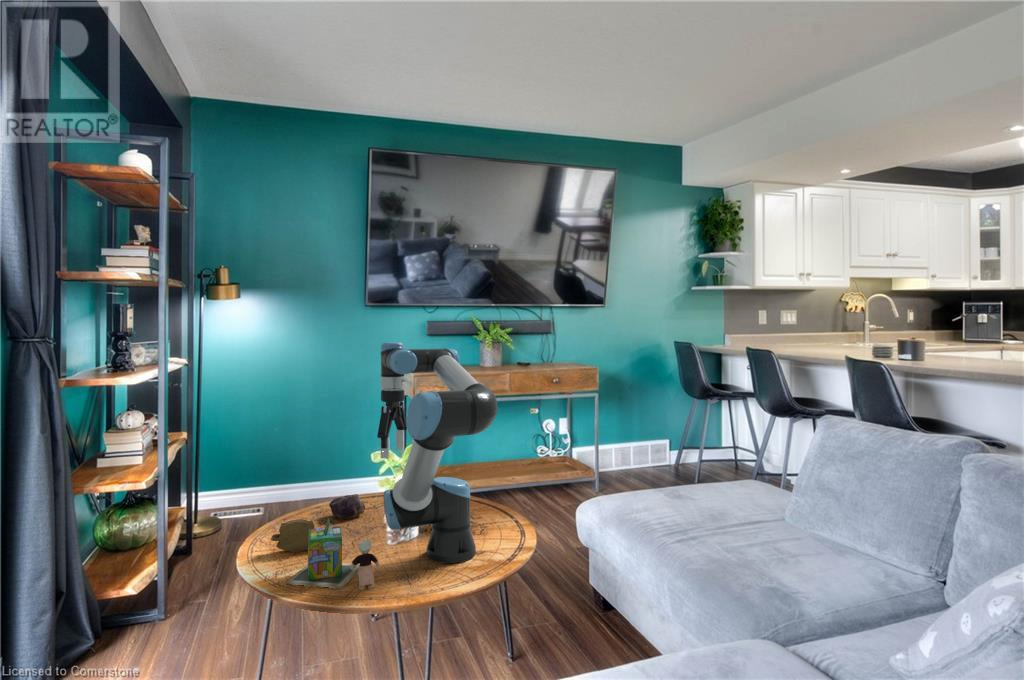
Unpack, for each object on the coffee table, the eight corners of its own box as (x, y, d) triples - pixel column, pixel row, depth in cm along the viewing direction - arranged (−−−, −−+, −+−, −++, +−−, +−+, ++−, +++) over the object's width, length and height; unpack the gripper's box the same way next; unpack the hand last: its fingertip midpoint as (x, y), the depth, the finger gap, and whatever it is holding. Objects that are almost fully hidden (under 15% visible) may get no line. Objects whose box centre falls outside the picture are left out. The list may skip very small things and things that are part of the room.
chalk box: (307, 568, 165) (307, 517, 165) (341, 564, 168) (340, 513, 168) (307, 581, 157) (307, 527, 156) (342, 577, 160) (342, 524, 159)
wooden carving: (326, 544, 186) (326, 514, 185) (326, 550, 181) (326, 518, 181) (271, 551, 180) (271, 519, 180) (270, 556, 176) (269, 524, 176)
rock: (337, 516, 217) (327, 525, 207) (334, 494, 217) (323, 501, 207) (367, 512, 216) (358, 520, 206) (364, 490, 216) (355, 497, 206)
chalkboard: (362, 567, 168) (362, 564, 168) (341, 588, 154) (341, 585, 154) (311, 563, 171) (311, 561, 171) (285, 584, 157) (285, 581, 157)
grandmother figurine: (377, 581, 159) (377, 536, 159) (380, 587, 155) (380, 540, 155) (348, 587, 155) (348, 540, 155) (352, 593, 152) (352, 545, 152)
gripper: (389, 393, 176) (389, 462, 176) (415, 385, 200) (415, 446, 201) (366, 393, 177) (366, 461, 177) (395, 385, 202) (395, 445, 202)
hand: (392, 453), depth 189 cm, fingers open, 13 cm apart
